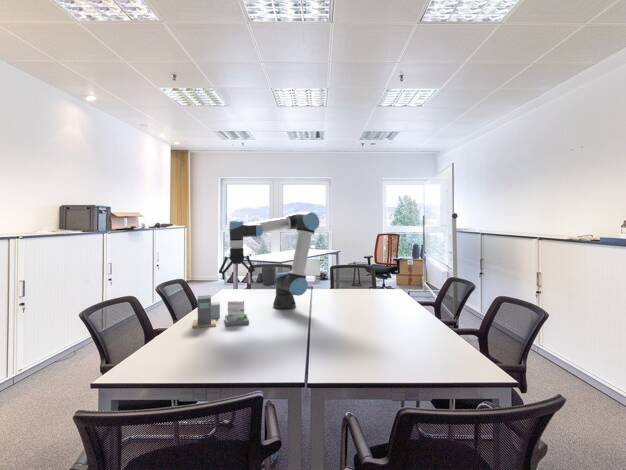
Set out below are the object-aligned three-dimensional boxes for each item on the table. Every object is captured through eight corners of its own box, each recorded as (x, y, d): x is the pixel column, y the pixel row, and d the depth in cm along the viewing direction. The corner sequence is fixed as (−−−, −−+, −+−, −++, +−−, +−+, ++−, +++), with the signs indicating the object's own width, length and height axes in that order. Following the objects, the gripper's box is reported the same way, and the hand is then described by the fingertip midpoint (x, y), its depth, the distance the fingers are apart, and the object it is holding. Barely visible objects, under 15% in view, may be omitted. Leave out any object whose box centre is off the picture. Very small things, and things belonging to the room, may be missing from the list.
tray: (246, 317, 202) (246, 313, 202) (248, 324, 189) (248, 320, 189) (225, 319, 199) (225, 315, 199) (226, 326, 186) (225, 322, 186)
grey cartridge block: (219, 315, 209) (219, 302, 208) (219, 317, 203) (219, 304, 203) (211, 315, 207) (211, 302, 207) (211, 318, 201) (211, 305, 201)
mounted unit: (215, 320, 197) (215, 294, 197) (215, 326, 186) (215, 298, 185) (193, 321, 194) (193, 295, 193) (192, 328, 182) (192, 300, 182)
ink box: (244, 319, 196) (244, 299, 196) (242, 322, 191) (242, 301, 191) (230, 319, 197) (230, 299, 196) (227, 322, 192) (227, 301, 191)
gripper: (257, 246, 202) (258, 281, 203) (213, 247, 194) (214, 284, 195) (259, 247, 195) (260, 284, 196) (214, 249, 187) (215, 287, 188)
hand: (237, 284), depth 195 cm, fingers open, 13 cm apart
